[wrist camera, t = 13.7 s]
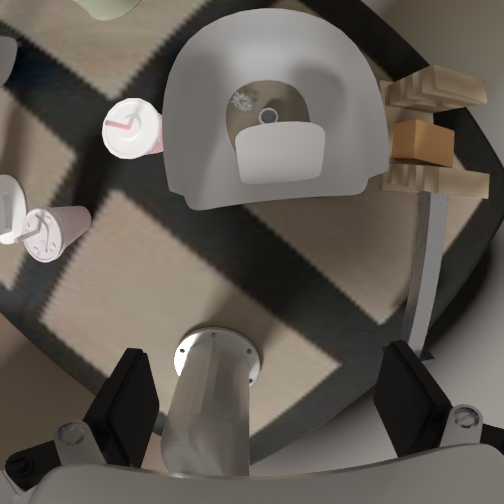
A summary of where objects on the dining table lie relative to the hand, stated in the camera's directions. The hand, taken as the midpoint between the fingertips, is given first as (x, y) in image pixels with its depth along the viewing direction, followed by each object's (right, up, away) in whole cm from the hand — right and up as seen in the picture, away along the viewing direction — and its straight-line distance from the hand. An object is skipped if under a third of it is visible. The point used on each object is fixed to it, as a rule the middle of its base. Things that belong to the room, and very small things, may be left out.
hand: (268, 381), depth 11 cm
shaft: (+20, +2, +24) cm, 31 cm away
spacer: (+20, +19, +23) cm, 36 cm away
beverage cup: (-12, +19, +24) cm, 33 cm away
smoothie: (-24, +9, +27) cm, 37 cm away
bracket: (+20, +20, +24) cm, 37 cm away
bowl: (+1, +20, +24) cm, 32 cm away
